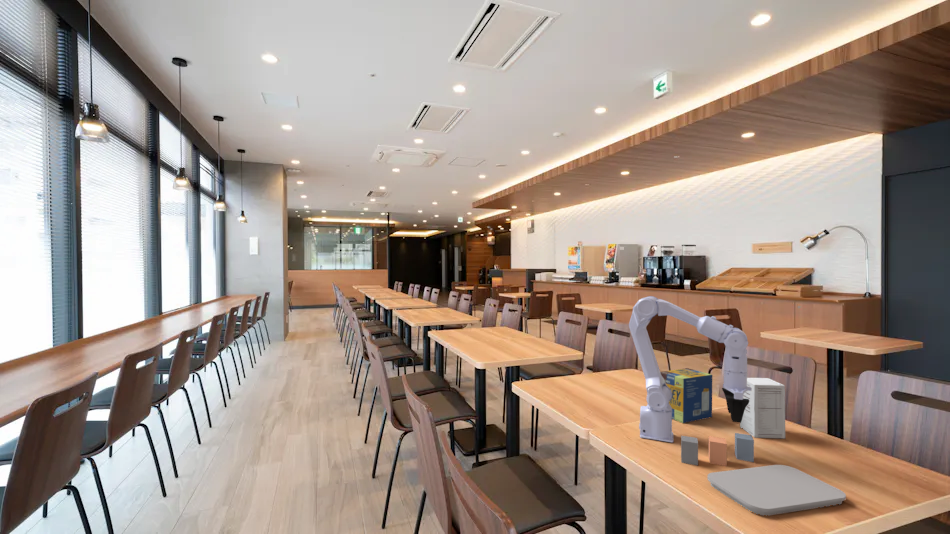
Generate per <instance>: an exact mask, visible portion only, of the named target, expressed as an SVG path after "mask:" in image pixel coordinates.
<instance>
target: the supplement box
mask: <svg viewBox="0 0 950 534" xmlns="http://www.w3.org/2000/svg"><path fill="white" fill-rule="evenodd" d="M747 387H751V388H752V391H746V392H745V393H744V394H743V399H749V403H748V405H747V406H746V408H745V410H744V414H743V418H742V421H741V423H739V427H740V428H741V429H742V428H743V429H742V430H744V431H745V432H746V433H748V435H752V438H756V439H757V438H762V439H786V386H785V384H782V383H780V382H777V380H774V379H771V378H769V377H747Z"/></svg>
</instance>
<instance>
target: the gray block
mask: <svg viewBox="0 0 950 534" xmlns="http://www.w3.org/2000/svg"><path fill="white" fill-rule="evenodd" d="M680 439H681V441H680V443H681V445H680V448H681V449H680V458H681V459H680V460H681V461H680V462H681V464H687V465H693V466H698V465H699V441H698V438H697V437H693V436H687V435H681V436H680Z"/></svg>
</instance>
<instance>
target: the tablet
mask: <svg viewBox="0 0 950 534" xmlns="http://www.w3.org/2000/svg"><path fill="white" fill-rule="evenodd" d="M707 480H708V482H709V483H710V486H711V487H712V488H713V487H714V488H713V489H715V490H716V489H717V490H716V491H718V492H719V491H720V493H721V494H722V495H724V496H726V497H727V498H728V499H730V498H731V499H730V500H732V501H733V500H734V501H733V502H735V503H736V502H737V503H736V504H738V505H739V504H740V506H741V505H742V506H743V507H742V506H741V507H742V508H744V507H745V508H744V509H746V510H747V509H748V510H747V511H749V510H750V511H752V512H754V513H753V514H755V513H756V514H755V515H758V514H760V515H759V516H764V515H766V516H765V517H767V515H768V516H773V515H781V514H787V513H792V512H799V511H807V510H812V509H818V507H820V508H825V507H824V506H826V507H831V506H830V505H833V506H837V505H836V504H839V505H841V504H842V503H843V501H845V500H847V495H846V492H844V491H842V490H841V489H839V488H837V487H835V486H833V485H831V484H829V483H827V482H825V481H823V480H820V479H819V478H816V477H814V476H812V475H810V474H808V473H806V472H804V471H801V470H800V469H798V468H795V467H793V466H789V465H784V464H772V465H771V464H770V465H764V466H763V465H762V466H756V467H755V466H754V467H748V468H740V469H732V470H723V471H715V472H709V473H708V474H707ZM750 511H749V512H750ZM752 512H751V513H752Z"/></svg>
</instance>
